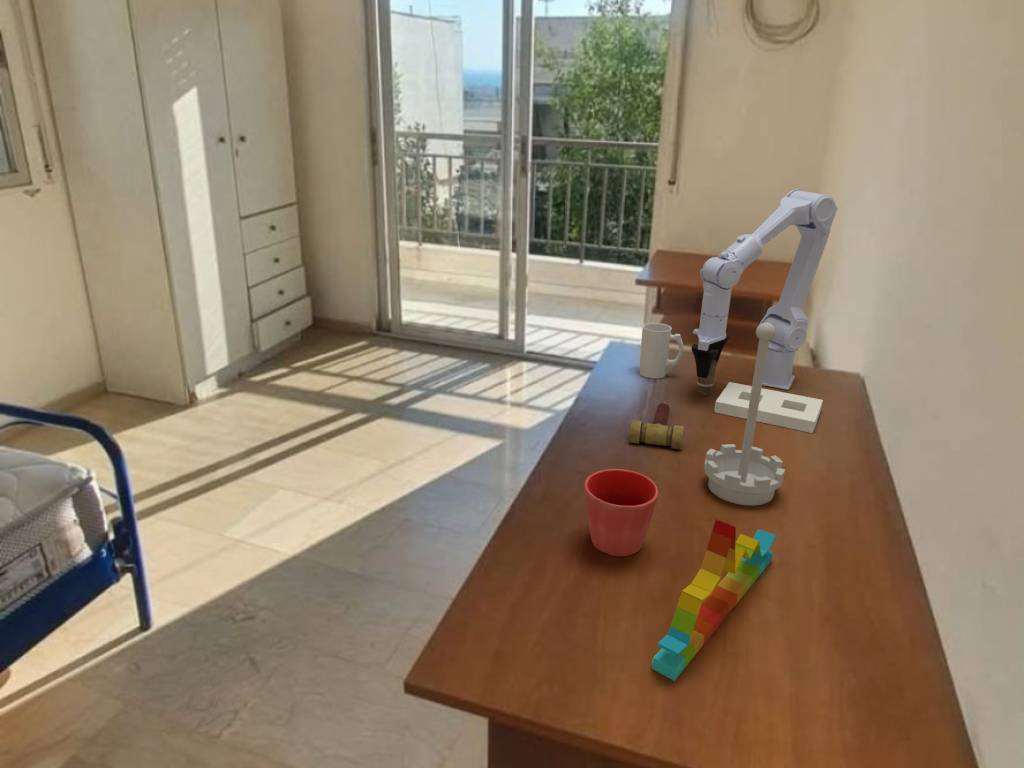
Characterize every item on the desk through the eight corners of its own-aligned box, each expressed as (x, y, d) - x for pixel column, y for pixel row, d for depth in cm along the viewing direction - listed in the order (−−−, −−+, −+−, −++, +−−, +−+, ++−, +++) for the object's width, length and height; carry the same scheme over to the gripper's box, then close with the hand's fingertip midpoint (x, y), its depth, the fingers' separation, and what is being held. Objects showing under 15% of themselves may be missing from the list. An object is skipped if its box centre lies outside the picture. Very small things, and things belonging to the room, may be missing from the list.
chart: (749, 554, 108) (765, 465, 102) (770, 562, 106) (787, 473, 100) (649, 669, 86) (662, 564, 80) (674, 682, 84) (688, 576, 78)
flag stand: (785, 513, 118) (818, 339, 107) (703, 503, 121) (727, 332, 109) (774, 475, 130) (803, 314, 119) (700, 466, 132) (722, 308, 121)
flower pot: (597, 568, 104) (601, 510, 100) (571, 526, 113) (574, 472, 110) (664, 558, 106) (671, 500, 103) (633, 518, 116) (638, 464, 112)
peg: (698, 389, 167) (702, 357, 164) (714, 392, 165) (718, 360, 162) (694, 395, 164) (698, 361, 161) (710, 398, 162) (714, 364, 159)
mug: (635, 376, 173) (640, 329, 169) (641, 367, 179) (645, 321, 175) (677, 383, 170) (683, 334, 166) (682, 373, 176) (687, 326, 172)
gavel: (642, 391, 158) (689, 396, 155) (640, 410, 159) (686, 416, 157) (630, 424, 139) (683, 431, 136) (628, 446, 140) (680, 453, 137)
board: (728, 392, 166) (729, 381, 165) (820, 410, 157) (822, 400, 156) (714, 412, 155) (715, 401, 154) (812, 433, 146) (815, 422, 145)
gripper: (704, 303, 165) (697, 359, 170) (687, 318, 153) (680, 378, 158) (736, 307, 162) (727, 364, 167) (720, 324, 150) (712, 384, 155)
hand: (706, 371), depth 162 cm, fingers open, 7 cm apart
